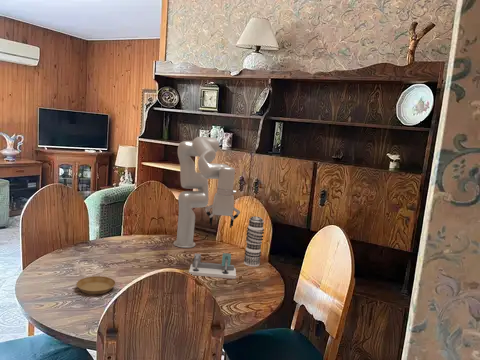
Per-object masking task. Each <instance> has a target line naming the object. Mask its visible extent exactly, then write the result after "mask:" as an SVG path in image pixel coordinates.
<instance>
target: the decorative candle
mask: <svg viewBox="0 0 480 360" xmlns="http://www.w3.org/2000/svg"><path fill="white" fill-rule="evenodd" d="M248 220H249V221H248V226H247V227H246V239H245V242H246V246H245V250H244V259H243V264H244V265H245V266H247V267H248V266H249V267H259V266H260V265H261V264H260V263H261V254H262V251H261V250H262V248H261V247H262V244H263V242H262V241H263V240H264V239H263V238H264V234H265V232H264V231H265V228H264V222H265V220H263V218H262V217H261V216H251V217H250V218H249V219H248Z"/></svg>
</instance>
